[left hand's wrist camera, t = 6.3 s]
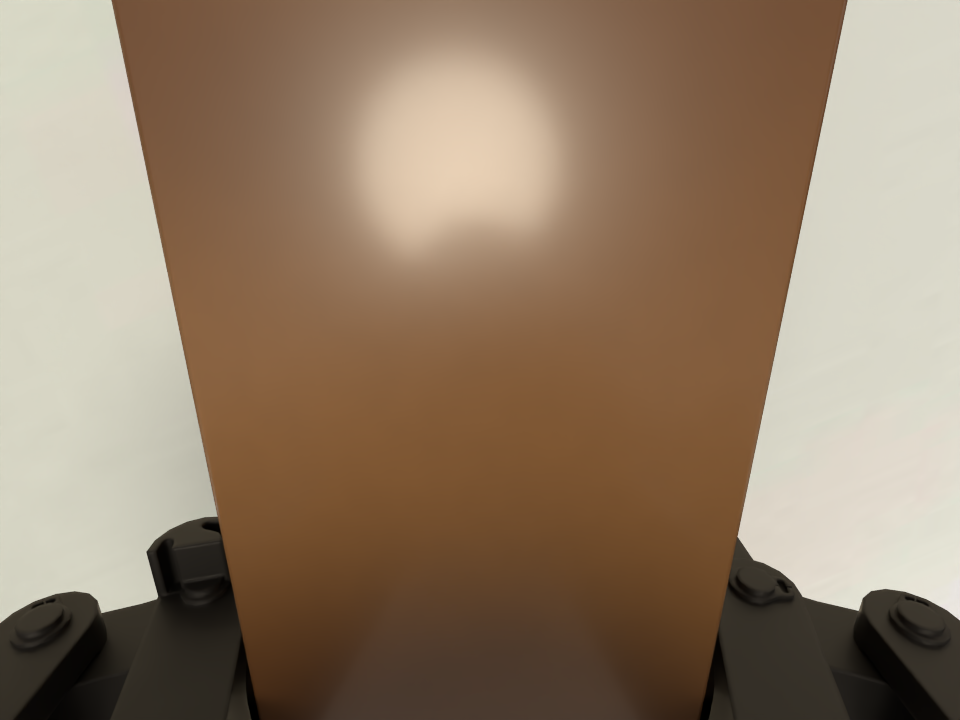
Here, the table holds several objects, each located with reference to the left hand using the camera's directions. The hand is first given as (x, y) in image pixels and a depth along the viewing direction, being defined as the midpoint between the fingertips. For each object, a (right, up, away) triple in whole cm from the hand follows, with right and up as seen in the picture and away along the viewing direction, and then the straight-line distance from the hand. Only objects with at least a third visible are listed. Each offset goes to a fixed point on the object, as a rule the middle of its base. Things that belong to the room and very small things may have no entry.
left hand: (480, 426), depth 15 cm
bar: (0, +13, -4) cm, 14 cm away
